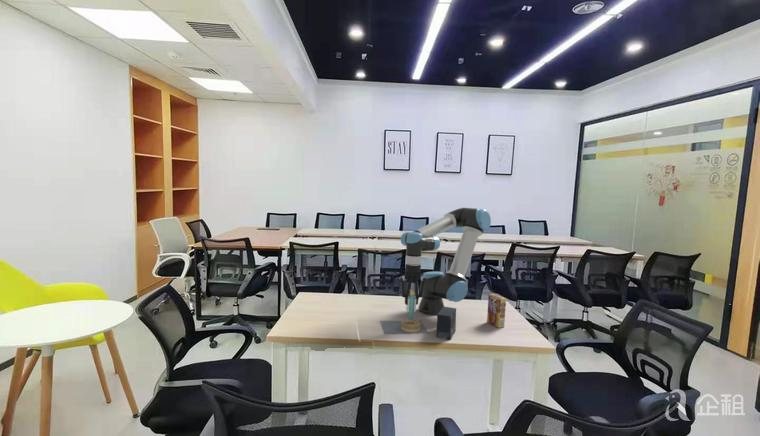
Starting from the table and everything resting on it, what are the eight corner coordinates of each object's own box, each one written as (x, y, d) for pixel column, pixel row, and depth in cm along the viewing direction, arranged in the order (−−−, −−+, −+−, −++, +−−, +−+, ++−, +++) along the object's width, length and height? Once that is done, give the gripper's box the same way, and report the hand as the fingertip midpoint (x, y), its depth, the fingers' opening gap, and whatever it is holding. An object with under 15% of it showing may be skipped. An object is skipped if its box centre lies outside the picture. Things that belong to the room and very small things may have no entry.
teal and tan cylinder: (412, 317, 175) (414, 289, 174) (414, 319, 172) (415, 291, 172) (407, 317, 175) (408, 289, 174) (408, 319, 172) (409, 291, 171)
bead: (417, 325, 179) (417, 319, 179) (421, 332, 170) (422, 326, 170) (399, 325, 178) (400, 319, 178) (403, 332, 169) (403, 326, 169)
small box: (442, 329, 177) (443, 305, 176) (455, 331, 174) (456, 308, 173) (435, 338, 165) (437, 313, 164) (450, 341, 162) (451, 316, 161)
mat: (420, 321, 186) (420, 320, 186) (429, 334, 169) (429, 333, 169) (379, 322, 183) (379, 320, 183) (384, 335, 167) (384, 334, 166)
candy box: (505, 327, 182) (506, 298, 181) (498, 328, 180) (500, 299, 179) (492, 321, 190) (494, 293, 189) (486, 322, 188) (488, 294, 187)
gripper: (426, 262, 177) (424, 308, 178) (396, 262, 175) (394, 308, 176) (430, 265, 169) (428, 313, 171) (398, 265, 167) (396, 313, 169)
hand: (411, 310), depth 173 cm, fingers closed on teal and tan cylinder, 3 cm apart
